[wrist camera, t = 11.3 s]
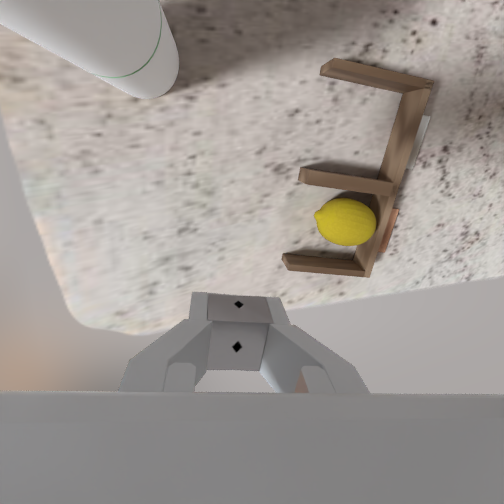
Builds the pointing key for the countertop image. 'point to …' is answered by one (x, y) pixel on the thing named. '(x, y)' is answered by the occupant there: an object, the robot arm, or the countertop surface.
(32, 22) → the cylindrical container
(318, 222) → the lemon
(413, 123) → the bay rack
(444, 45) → the countertop surface
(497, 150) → the countertop surface
